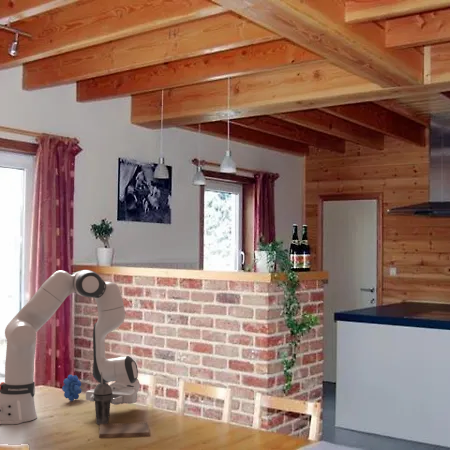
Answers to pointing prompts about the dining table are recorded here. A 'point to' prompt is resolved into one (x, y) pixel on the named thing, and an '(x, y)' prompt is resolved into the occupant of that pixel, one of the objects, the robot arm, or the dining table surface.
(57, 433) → the dining table surface
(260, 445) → the dining table surface
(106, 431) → the walnut board
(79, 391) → the grapes
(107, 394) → the beverage cup
